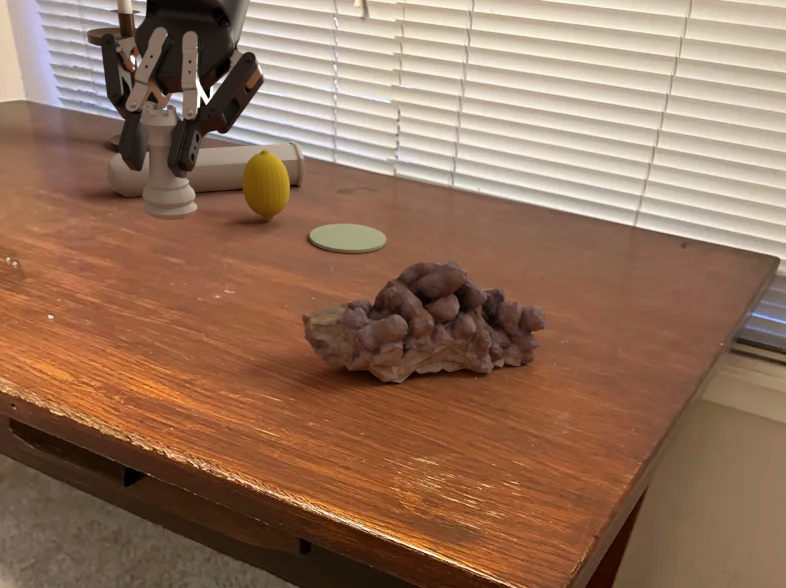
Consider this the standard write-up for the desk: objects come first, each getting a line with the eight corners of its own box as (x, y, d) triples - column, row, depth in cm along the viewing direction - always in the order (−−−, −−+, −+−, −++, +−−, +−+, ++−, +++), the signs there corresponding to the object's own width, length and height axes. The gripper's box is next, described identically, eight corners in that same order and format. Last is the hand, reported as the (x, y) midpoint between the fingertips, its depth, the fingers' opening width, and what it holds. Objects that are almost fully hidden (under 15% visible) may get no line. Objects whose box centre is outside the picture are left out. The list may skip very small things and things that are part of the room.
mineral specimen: (496, 268, 76) (535, 214, 67) (535, 366, 76) (581, 327, 66) (291, 329, 71) (302, 280, 62) (332, 435, 71) (350, 402, 61)
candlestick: (101, 155, 116) (50, -169, 94) (107, 136, 124) (60, -166, 102) (180, 156, 118) (147, -160, 96) (180, 137, 126) (150, -159, 104)
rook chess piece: (208, 215, 69) (200, 110, 64) (162, 224, 66) (149, 116, 61) (178, 200, 71) (168, 98, 66) (132, 209, 68) (118, 104, 63)
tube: (110, 169, 98) (306, 156, 107) (100, 143, 100) (292, 133, 109) (114, 208, 102) (302, 193, 111) (104, 183, 104) (290, 169, 114)
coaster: (306, 250, 92) (306, 247, 92) (312, 224, 99) (312, 221, 99) (386, 255, 92) (386, 252, 92) (386, 229, 99) (386, 225, 99)
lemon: (277, 211, 102) (275, 142, 97) (298, 224, 99) (297, 154, 94) (236, 216, 99) (232, 145, 94) (256, 230, 96) (253, 158, 91)
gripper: (104, -77, 63) (46, 127, 62) (275, -59, 61) (220, 153, 60) (146, -2, 71) (95, 182, 69) (300, 17, 69) (251, 207, 67)
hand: (153, 168), depth 64 cm, fingers closed on rook chess piece, 3 cm apart
